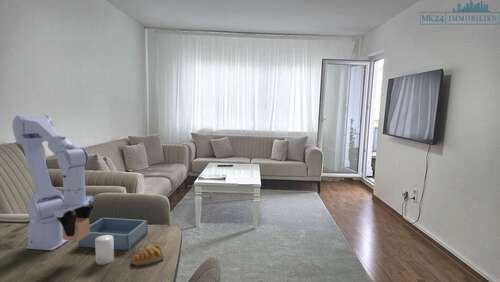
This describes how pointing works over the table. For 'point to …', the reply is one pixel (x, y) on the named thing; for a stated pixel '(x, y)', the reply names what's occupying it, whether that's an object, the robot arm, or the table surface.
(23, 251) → the table surface
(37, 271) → the table surface
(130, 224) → the tote
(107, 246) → the white egg shape
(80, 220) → the cube
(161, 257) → the pastry
